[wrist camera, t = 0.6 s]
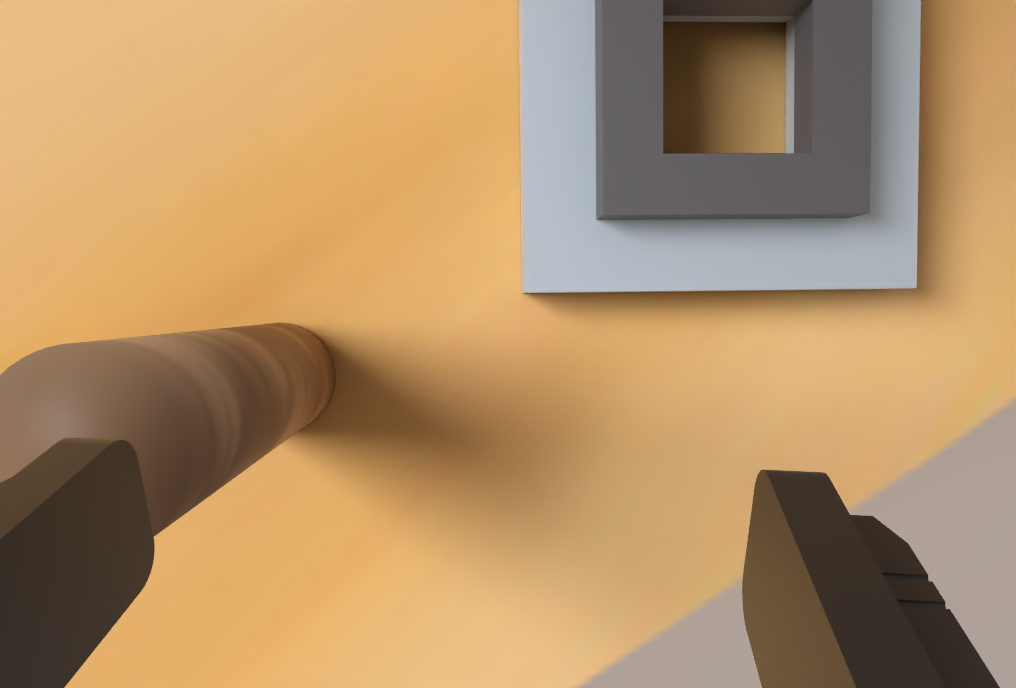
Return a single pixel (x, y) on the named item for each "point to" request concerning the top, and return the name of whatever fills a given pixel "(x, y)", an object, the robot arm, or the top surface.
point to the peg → (169, 404)
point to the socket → (718, 154)
